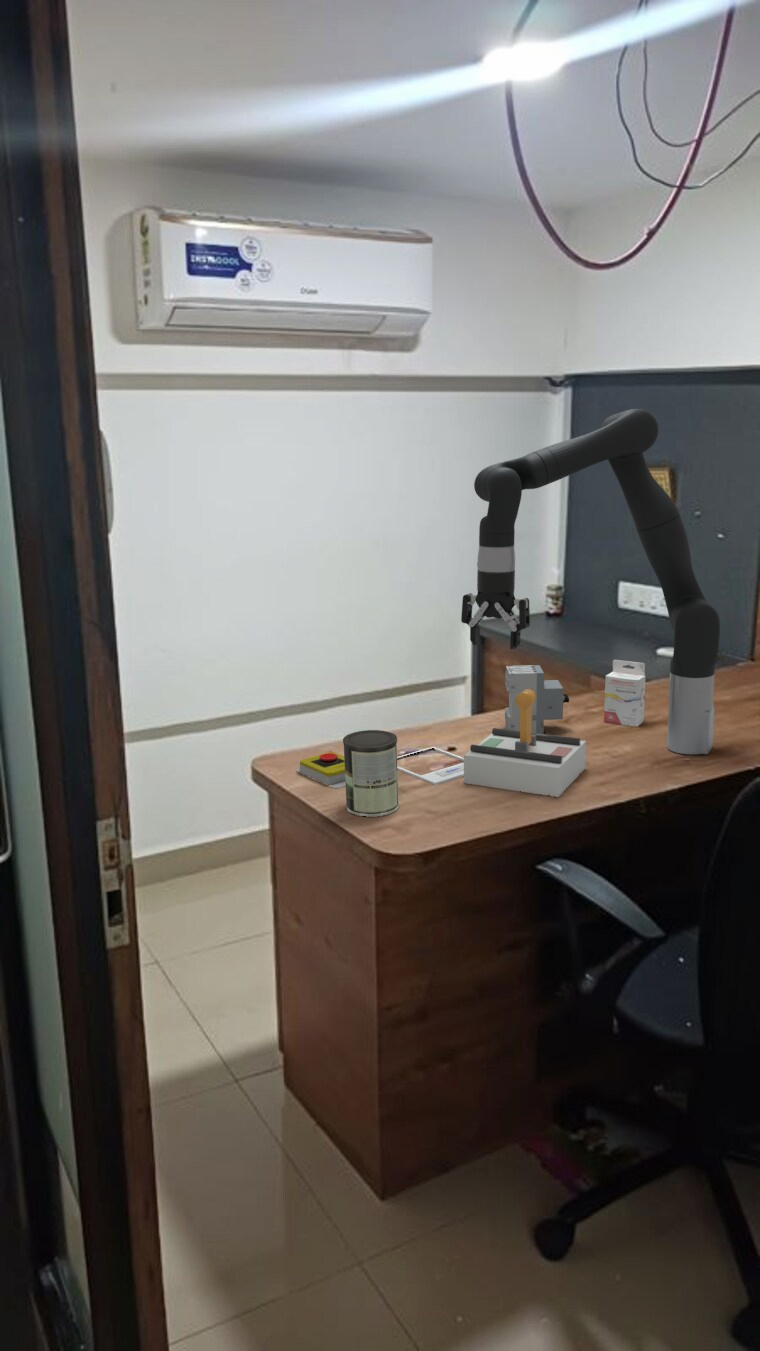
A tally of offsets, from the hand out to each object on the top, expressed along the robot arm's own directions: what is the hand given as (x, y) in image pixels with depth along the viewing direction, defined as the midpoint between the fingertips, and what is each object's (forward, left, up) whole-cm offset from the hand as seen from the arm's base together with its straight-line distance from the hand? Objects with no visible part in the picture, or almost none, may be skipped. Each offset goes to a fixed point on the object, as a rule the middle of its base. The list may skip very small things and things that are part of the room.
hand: (494, 646), depth 205 cm
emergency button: (+30, +17, -27) cm, 44 cm away
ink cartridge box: (-16, -42, -27) cm, 53 cm away
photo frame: (+13, +4, -27) cm, 30 cm away
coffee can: (+14, +30, -27) cm, 42 cm away
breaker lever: (-7, +2, -21) cm, 22 cm away
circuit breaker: (+1, -28, -27) cm, 39 cm away
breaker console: (-7, +2, -27) cm, 28 cm away
